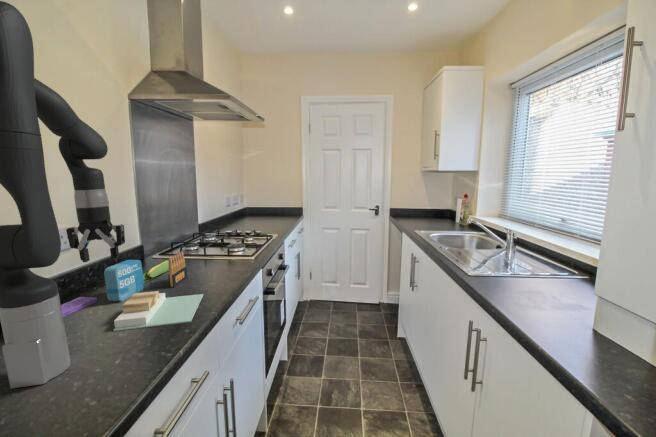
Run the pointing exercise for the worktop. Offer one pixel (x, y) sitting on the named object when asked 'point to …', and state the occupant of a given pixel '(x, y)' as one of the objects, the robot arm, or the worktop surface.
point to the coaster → (140, 302)
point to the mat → (172, 312)
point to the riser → (138, 315)
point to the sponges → (76, 305)
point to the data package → (124, 280)
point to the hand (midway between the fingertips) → (100, 260)
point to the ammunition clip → (177, 270)
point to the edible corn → (156, 271)
